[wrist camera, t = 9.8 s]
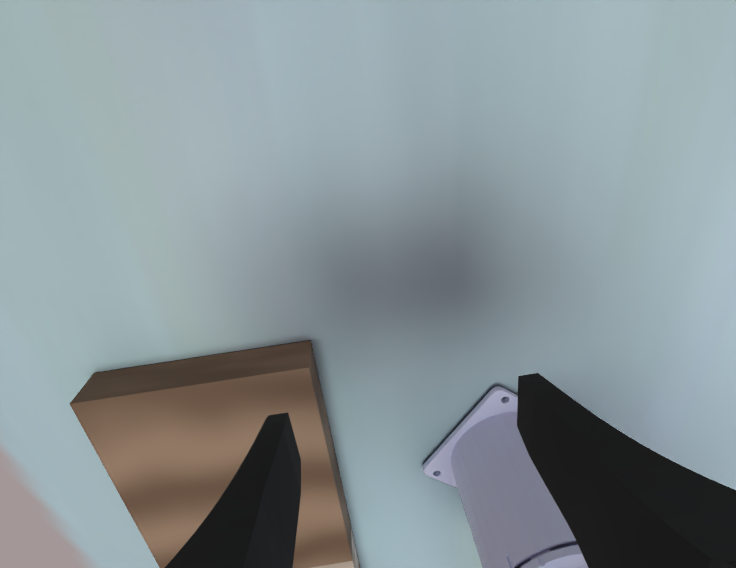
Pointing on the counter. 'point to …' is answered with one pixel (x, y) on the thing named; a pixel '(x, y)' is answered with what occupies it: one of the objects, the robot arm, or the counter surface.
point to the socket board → (215, 443)
